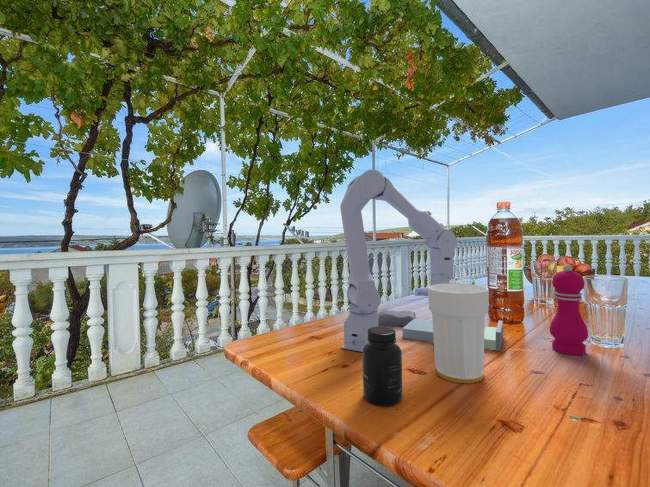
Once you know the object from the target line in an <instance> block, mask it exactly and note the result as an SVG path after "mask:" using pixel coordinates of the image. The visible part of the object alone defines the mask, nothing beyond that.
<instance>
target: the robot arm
mask: <svg viewBox="0 0 650 487" xmlns="http://www.w3.org/2000/svg"><path fill="white" fill-rule="evenodd" d="M370 200H374V201H383V202H386V203H387V204H389V205H390V206H391V207H392V208H393V209H395V210H397V211H398V213H400V214H401V215H402V216H404V217H405V218H406V219H407V223H408V227H409V228H410V229H412V230H413V231H414V232H415V233H416V234H417V235H419V237H421V238H422V239H423V240H424V241H425V245H426V247H427V248H429V250H430V252H429V253H430V284H431V285H435V284H446V283H450V282H449V281H450V280H451V279H454V254H455V249H456V247H457V245H458V243H459V242H458V241H459V239H457V238H456V234H455V233H454V232H453V230H450V229H446V228H445V227H444V224H443V223H439V222H438V221H437V220H436V219H435V218H434V217H433V216H432V212H430V210H425V209H417V208H416V207H415V205H413V204H412V203H411V202H410V201H409V200H408V198H406V197H405V196H404V195H403V193H401V191H400V190H398V188H396V186H394V184H393V183H392V181H391V180H390V178H387V177H386V176H384V175H383V173H382V172H381V171H380V170H377V169H368V170H366V171H364V172H363V173H361V174H360V175H357V176H356V177H354V178H353V179H352V180H351V181H350V182H349V184H347V188H346V192H345V194H344V196H343V198H342V200H341V202H340V206H339V207H340V215H341V221H342V229H343V235H344V241H345V249H346V255H347V263H348V268H349V276H348V287H347V290H346V291H347V292H346V297H347V299H348V302H350V306H349V309H348V310H349V311H348V314H349V315H348V316H347V317H346V318H345V320H344V323H343V337H344V338H343V339H344V342H343V343H344V344H342V345H341V349H343V350H350V351H355V352H361V353H362V350H363V347H364V346H365V345H366V344H367V343H369V342H368V340H367V337H368V329H369V328H372V327H378V326H379V325H378V312H379V311H378V310H379V309H378V307H379V306H380V305H381V302H382V301H381V300H382V299H381V295H380V294H381V293H380V292H379V290H378V289H377V287H376V283H375V280H374V278H373V275H372V272H371V269H370V262H369V261H370V260H369V256H368V255H369V254H368V248H367V240H366V235H365V227H364V222H363V221H364V220H363V214H362V210H363V209H364V208H365V207H366V206H367V204H368V203H369V202H370ZM431 285H430V286H431ZM414 296H415V297H419V296H420V297H428V287H416V288H414Z"/></svg>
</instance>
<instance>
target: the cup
mask: <svg viewBox="0 0 650 487" xmlns="http://www.w3.org/2000/svg"><path fill="white" fill-rule="evenodd" d="M427 288H428V296H427V298H428V309H429V311H430V312H431V316H432V321H433V338H434V342H433V350H434V351H433V352H434V353H433V355H434V356H433V357H434V372H435V374H436V375H437V376H438V377H441V379H444V380H446V381H449V382H452V383H456V384H457V383H458V384H463V383H464V384H465V383H468V384H475V382H476V383H479V381H480V382H482V381H483V380H484V378H485V370H484V369H485V368H484V367H485V366H484V365H485V363H484V362H485V349H484V326H485V317H486V315H487V314H488V313H489V308H490V307H489V306H490V305H489V303H490V302H489V301H490V300H489V299H490V290H489V288H488V287H486V286H483V285H480V284H479V285H478V284H471V283H446V284H435V285H429V286H428V287H427ZM482 379H483V380H482Z"/></svg>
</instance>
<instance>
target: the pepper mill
mask: <svg viewBox="0 0 650 487" xmlns="http://www.w3.org/2000/svg"><path fill="white" fill-rule="evenodd" d="M562 268H563V269H562V270H563V271H560V272H559V271H558V272H556V273H555V275H554V276H553V278H552V280H551V281H552V282H551V283H552V286H553V288H554V289H555V290H556V291H554V294H555V295H554V297H555V299H556V300H557V309H556V312H555V315H554V316H553V318H552V320H551V321H550V325H549V333H550V335H551V336H552V337H553V340H551V345H552V346H551V347H552V349H553V351H555V352H558V353H561V354H564V355H569V356H570V355H571V356H582V355H585V354H586V353H587V350H586V349H587V348H586V347H587V346H586V344H584V342H585V341H586V340H588V338H589V330H588V327H587V325H586V323H585V321H584V319H583V317H582V316H581V312H580V301H581V300H583V297H582V295H583V293H582V292H581V291H582V290H584V289H585V279H584V277H583V276H582V275H581V274H579V273H578V272H575V271H573V270H574V267H573V266H572V265H571V264H565V265H564V266H563V267H562Z"/></svg>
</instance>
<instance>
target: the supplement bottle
mask: <svg viewBox="0 0 650 487" xmlns="http://www.w3.org/2000/svg"><path fill="white" fill-rule="evenodd" d="M396 337H397V335H396V330H395V329H394V328H392V327H389V326H385V325H378V327H372V328H369V329H368V337H367V340H368V342H369V343H367V344H366V345H365V346H364V347H363V350H362V352H361V353H362V357H361V358H362V392H363V397H364V398H365V400H366V401H367V402H368V403H370V404H372V405H375V406H378V407H392V406H395V405H397V404H399V403H400V402H401V401H402V399H403V354H402V349H401V347H400V346H399V345H398V344H397V343H396V342H397V338H396Z"/></svg>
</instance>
